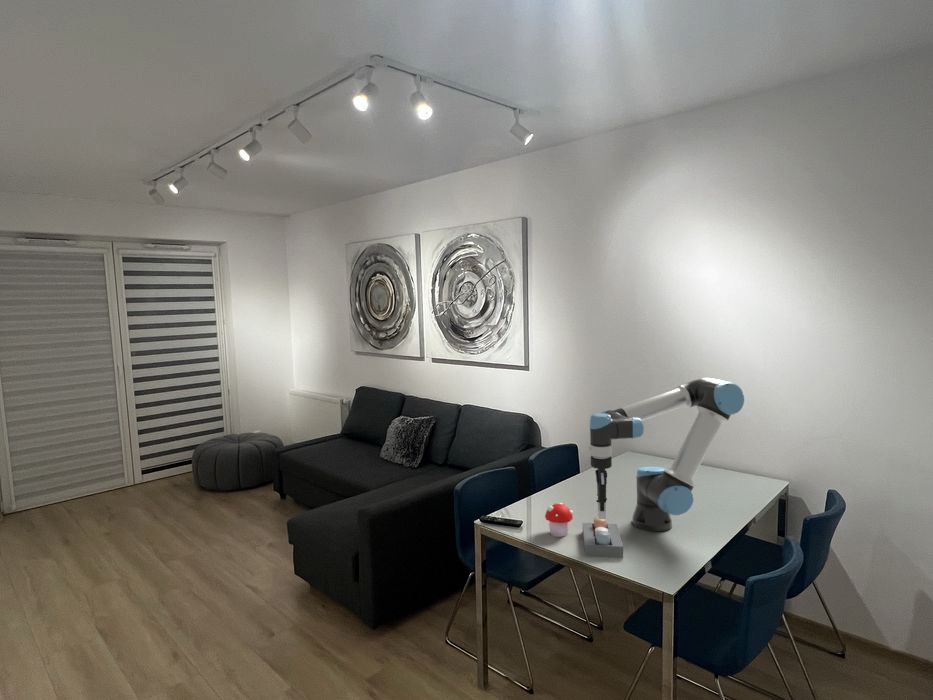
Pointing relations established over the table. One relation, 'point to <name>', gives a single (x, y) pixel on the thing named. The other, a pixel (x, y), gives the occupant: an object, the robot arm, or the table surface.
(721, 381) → the robot arm
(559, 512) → the mushroom
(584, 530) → the grey button tray
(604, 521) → the button terracotta
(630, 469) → the table surface
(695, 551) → the table surface
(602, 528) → the button ivory
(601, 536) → the button slate
